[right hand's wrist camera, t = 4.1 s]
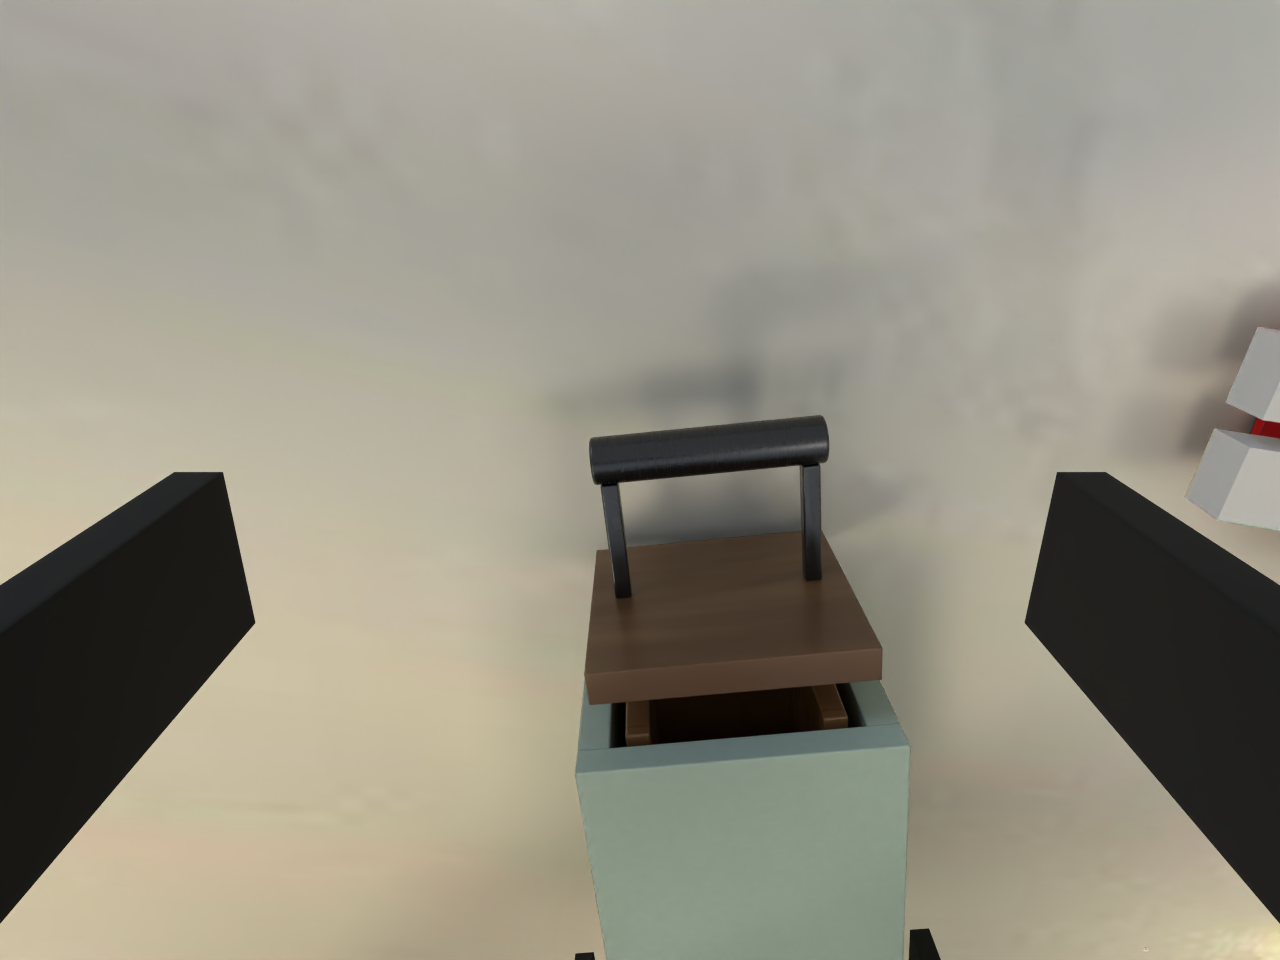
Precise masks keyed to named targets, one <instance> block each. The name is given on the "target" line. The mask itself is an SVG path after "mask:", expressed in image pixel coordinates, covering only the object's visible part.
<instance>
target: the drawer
mask: <svg viewBox="0 0 1280 960" xmlns="http://www.w3.org/2000/svg"><path fill="white" fill-rule="evenodd" d="M589 455H590V466H591V473H592V478H593V482H594V484H596V485H601V493H602V501H603V508H604V516H605V524H606V531H607V539H608V546H609V549H606V550H597V554H596V564H595V574H594V584H593V594H592V603H591V613H590V623H589V633H588V643H587V653H586V662H585V672H584V676H585V683H586V689H587V695H588V702H589V705H599V704H610V703H621V702H626V727H625V738H626V745H627V747H631V746H643V745H655V744H667V743H678V742H690V741H702V740H713V739H725V738H737V737H749V736H760V735H772V734H784V733H795V732H807V731H819V730H831V729H842V728H848V716H847V714H846V711H845V708H844V706H843V703H842V701H841V698H840V696H839V693H838V690H837V688H836V685H835V684H839V683H850V682H862V681H873V680H881V679H882V646H881V644H880V643H879V641H878V639H877V637H876V635H875V633H874V631H873V629H872V627H871V625H870V623H869V621H868V619H867V617H866V615H865V613H864V611H863V610H862V608H861V606H860V604H859V602H858V600H857V598H856V596H855V594H854V592H853V590H852V588H851V586H850V584H849V582H848V580H847V579H846V577H845V575H844V573H843V571H842V569H841V567H840V565H839V563H838V561H837V559H836V557H835V555H834V553H833V551H832V549H831V547H830V546H829V544H828V542H827V540H826V538H825V536H824V534H823V532H822V530H821V480H820V465H819V463H825V462H827V460H828V456H829V435H828V429H827V425H826V421H825V419H824V417H823V416H821V415H816V416H806V417H796V418H786V419H776V420H766V421H756V422H745V423H735V424H725V425H715V426H705V427H695V428H685V429H675V430H665V431H654V432H644V433H634V434H624V435H614V436H604V437H594V438H591V439H590V441H589ZM798 465H800V494H801V531H797V532H787V533H776V534H766V535H755V536H744V537H734V538H723V539H712V540H702V541H691V542H680V543H670V544H659V545H648V546H638V547H627V545H626V537H625V529H624V520H623V512H622V504H621V496H620V487H619V483H622V482H633V481H643V480H653V479H664V478H674V477H684V476H695V475H705V474H715V473H726V472H736V471H746V470H757V469H767V468H777V467H788V466H798Z"/></svg>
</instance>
